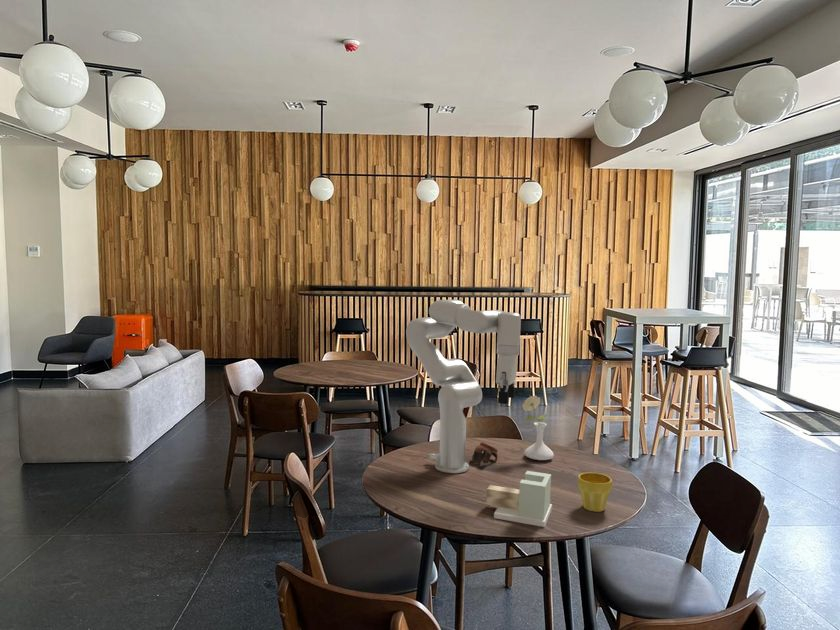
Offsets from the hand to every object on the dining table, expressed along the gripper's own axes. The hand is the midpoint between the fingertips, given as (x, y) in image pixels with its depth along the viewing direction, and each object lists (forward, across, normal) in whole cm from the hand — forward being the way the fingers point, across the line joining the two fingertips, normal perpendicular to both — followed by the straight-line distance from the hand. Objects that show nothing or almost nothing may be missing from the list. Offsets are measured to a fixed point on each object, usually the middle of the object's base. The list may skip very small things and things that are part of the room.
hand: (506, 400), depth 200 cm
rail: (+29, +17, +7) cm, 34 cm away
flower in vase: (+31, -37, +5) cm, 48 cm away
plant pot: (+31, +4, +30) cm, 43 cm away
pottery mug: (+31, -24, -12) cm, 41 cm away
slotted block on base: (+30, +18, +10) cm, 37 cm away
